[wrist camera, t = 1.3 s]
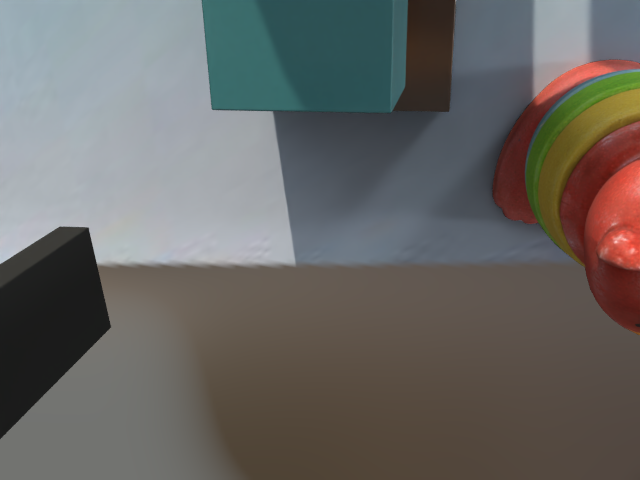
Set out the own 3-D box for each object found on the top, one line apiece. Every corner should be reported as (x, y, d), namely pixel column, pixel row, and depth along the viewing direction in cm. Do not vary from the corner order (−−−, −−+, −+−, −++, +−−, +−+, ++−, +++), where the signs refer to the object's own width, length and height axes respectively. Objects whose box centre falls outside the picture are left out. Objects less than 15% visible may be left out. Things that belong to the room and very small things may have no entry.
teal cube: (247, -79, 26) (192, -95, 21) (410, -87, 25) (396, -106, 19) (257, 86, 29) (211, 110, 23) (405, 88, 27) (391, 113, 22)
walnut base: (259, -103, 33) (238, -113, 30) (463, -115, 31) (463, -126, 28) (270, 98, 38) (253, 108, 34) (450, 100, 35) (449, 111, 32)
